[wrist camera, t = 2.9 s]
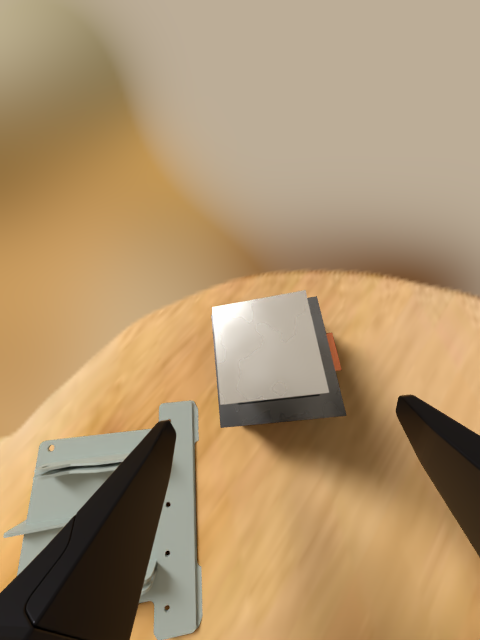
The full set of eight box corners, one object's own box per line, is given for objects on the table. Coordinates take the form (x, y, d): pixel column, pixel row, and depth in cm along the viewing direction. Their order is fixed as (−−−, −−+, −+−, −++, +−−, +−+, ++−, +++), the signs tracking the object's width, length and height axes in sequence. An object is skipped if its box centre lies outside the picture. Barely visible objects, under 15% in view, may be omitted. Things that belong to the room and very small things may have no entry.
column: (305, 388, 16) (334, 396, 7) (250, 394, 16) (216, 409, 8) (294, 333, 17) (308, 286, 9) (243, 341, 18) (208, 304, 9)
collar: (333, 408, 17) (357, 420, 12) (235, 418, 18) (216, 433, 13) (312, 315, 19) (323, 290, 14) (225, 329, 20) (207, 311, 15)
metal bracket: (-51, 721, 11) (13, 419, 16) (37, 611, 17) (66, 411, 21) (215, 656, 13) (205, 400, 17) (216, 576, 19) (208, 397, 23)
